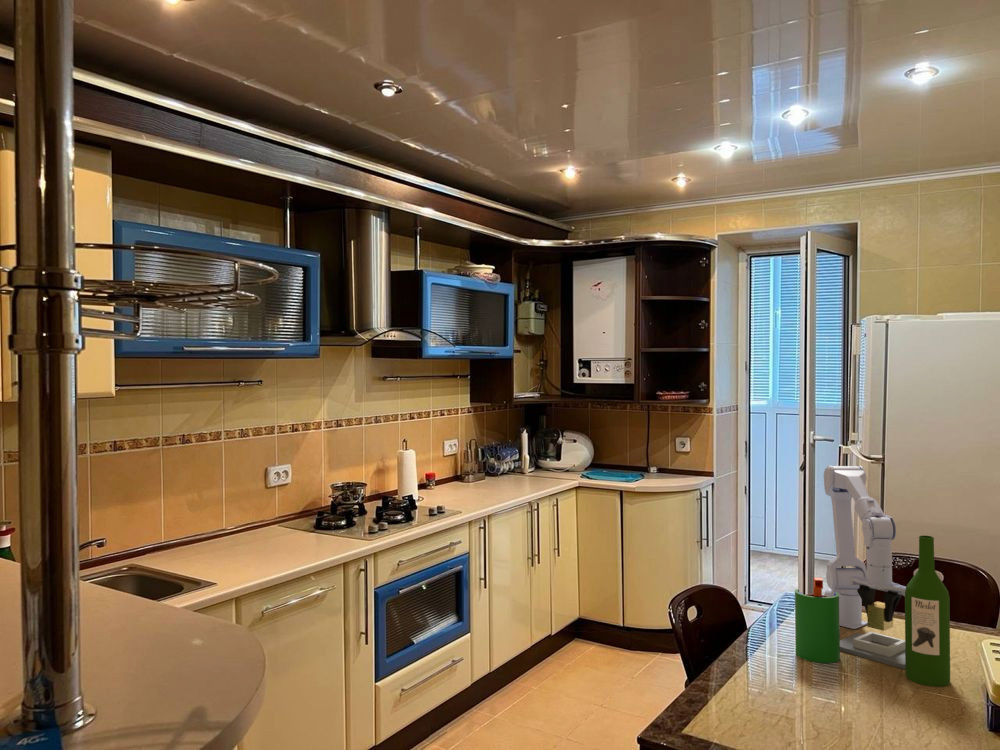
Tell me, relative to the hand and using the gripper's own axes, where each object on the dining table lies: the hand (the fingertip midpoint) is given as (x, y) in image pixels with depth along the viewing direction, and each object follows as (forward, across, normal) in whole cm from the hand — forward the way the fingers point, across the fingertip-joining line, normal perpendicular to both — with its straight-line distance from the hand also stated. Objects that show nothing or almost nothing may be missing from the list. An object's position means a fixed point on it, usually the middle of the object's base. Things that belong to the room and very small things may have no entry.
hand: (879, 618), depth 191 cm
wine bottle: (+8, +15, -9) cm, 19 cm away
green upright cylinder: (+8, -8, -15) cm, 19 cm away
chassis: (+8, 0, 0) cm, 8 cm away
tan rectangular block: (+2, 0, 0) cm, 2 cm away
